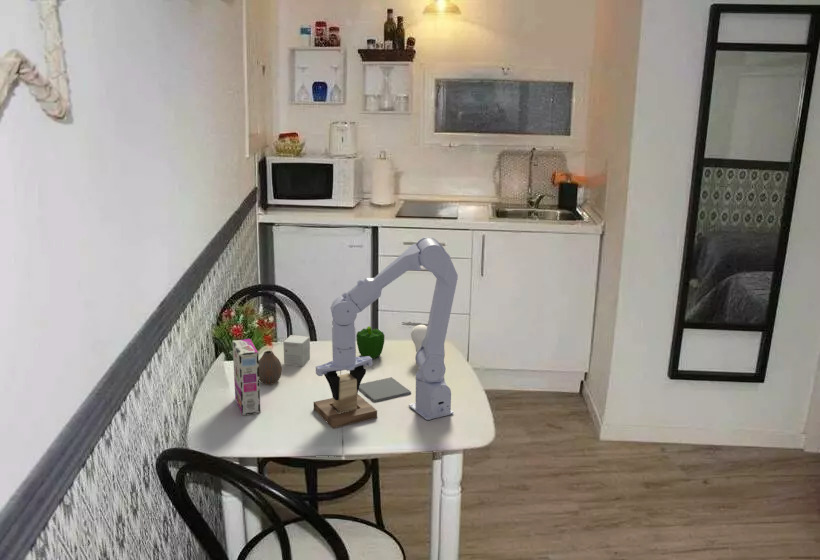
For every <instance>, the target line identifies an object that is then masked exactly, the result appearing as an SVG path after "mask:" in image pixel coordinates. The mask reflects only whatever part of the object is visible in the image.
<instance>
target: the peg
mask: <svg viewBox="0 0 820 560" xmlns="http://www.w3.org/2000/svg"><path fill="white" fill-rule="evenodd" d="M337 376H339V377H340V381H339V399H338V400H335V399H334V398H333V397H332V398H333V406H334V407H335V408H336V409H337V410H336V411H337V412H338V413H343V412H347V411H351V410H355V409H357V394H358V393H357V379H356V378H354V377H353V376H352V375H351V374H350V372H348V373H343V374H337Z"/></svg>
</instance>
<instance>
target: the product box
mask: <svg viewBox="0 0 820 560" xmlns="http://www.w3.org/2000/svg"><path fill="white" fill-rule="evenodd" d="M310 342H311V338H310V336H303V335H295V334H291V335H288V337H287V338H286V339H285V340H284V341H283V365H285V366H295V367H304V366H306V364H307V363H308V362H309V361H310V359H311V344H310Z"/></svg>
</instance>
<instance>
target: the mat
mask: <svg viewBox="0 0 820 560" xmlns="http://www.w3.org/2000/svg"><path fill="white" fill-rule="evenodd" d="M359 390H360V392H362V394H364V395H365V396H366V397H368V399H370V400H371V401H373V403H376V401H377V402H380V401H386V400H389V399H394V398H399V397H403V396H407V395H412V391H410V389H408V388H407V387H405V385H403V384H402V383H400V382H399V381H397V380H396V379H395V378H393V377H387V378H381V379H377V380H373V381H369V382H368V381H367V382H364V383H362V382H361V383H360V386H359V389H358V391H359ZM402 395H403V396H402ZM398 396H399V397H398Z"/></svg>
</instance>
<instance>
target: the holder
mask: <svg viewBox="0 0 820 560" xmlns="http://www.w3.org/2000/svg"><path fill="white" fill-rule="evenodd" d="M313 410H314V411H315V412H316V413H317V414H318V415H319V416H320V417H321V419H323V420H324V421H325V422H326V421H327V422H328V423H327V422H326V423H327V424H328V425H329V426H330V428H332V429H335V428H341V427H344V426H348V425H352V424H356V423H357V424H358V423H361V422H365V421H370V420H375V419H378V410H377V409H376V408H375V407H374V406H372V404H370V403H369V402H368V401H367V400H365V399H364V398H363V397H362V396H361V395H360V394H358V393H357V409H355V410H350V411H346V412H342V413H340V412H339V411H338V410H337V409H336V408H335V407H334V406H333V397H331V398H326V399H321V400H317V401H313Z"/></svg>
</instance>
